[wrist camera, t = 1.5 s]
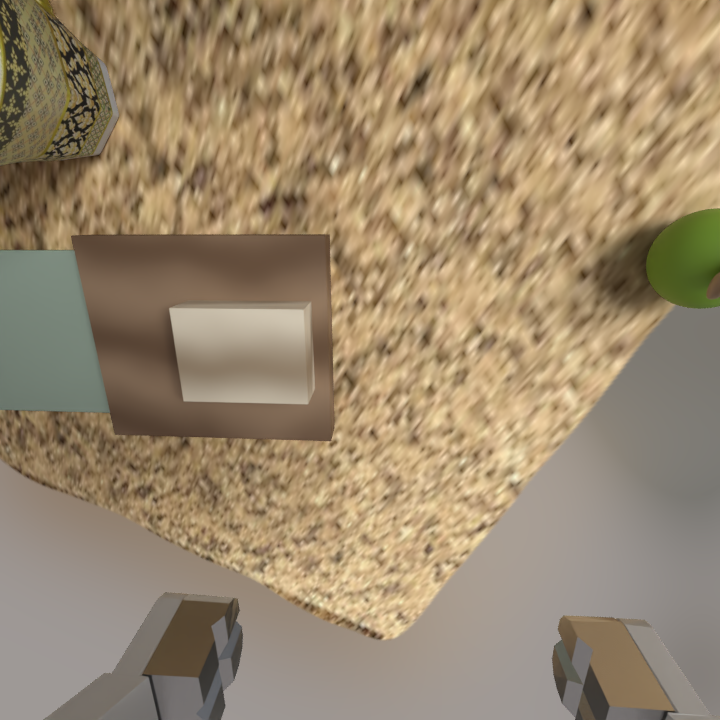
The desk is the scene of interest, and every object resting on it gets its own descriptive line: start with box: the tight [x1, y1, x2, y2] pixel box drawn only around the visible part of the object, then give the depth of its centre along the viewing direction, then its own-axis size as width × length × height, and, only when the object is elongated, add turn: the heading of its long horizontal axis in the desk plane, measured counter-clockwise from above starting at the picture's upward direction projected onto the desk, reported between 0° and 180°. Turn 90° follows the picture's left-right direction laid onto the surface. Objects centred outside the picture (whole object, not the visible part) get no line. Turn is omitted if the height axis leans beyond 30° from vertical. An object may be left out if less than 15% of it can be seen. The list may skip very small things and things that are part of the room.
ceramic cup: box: [0, 0, 119, 166], centre depth 20 cm, size 13×10×10 cm
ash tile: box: [169, 300, 315, 404], centre depth 26 cm, size 6×8×2 cm
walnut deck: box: [71, 235, 334, 441], centre depth 28 cm, size 14×16×2 cm
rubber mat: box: [0, 250, 110, 413], centre depth 30 cm, size 12×12×1 cm
